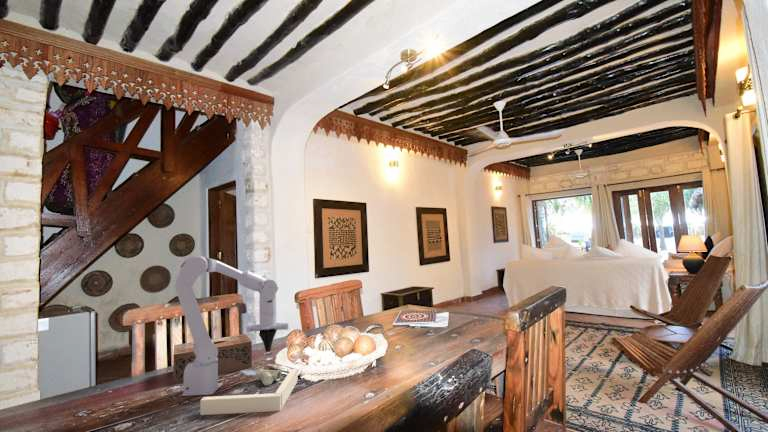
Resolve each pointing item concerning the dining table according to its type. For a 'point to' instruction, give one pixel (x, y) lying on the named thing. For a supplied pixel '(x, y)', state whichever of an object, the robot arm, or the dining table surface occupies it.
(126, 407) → the dining table surface
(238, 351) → the tissue box cover
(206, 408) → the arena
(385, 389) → the dining table surface
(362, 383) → the dining table surface
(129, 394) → the dining table surface
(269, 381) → the pipe fitting
